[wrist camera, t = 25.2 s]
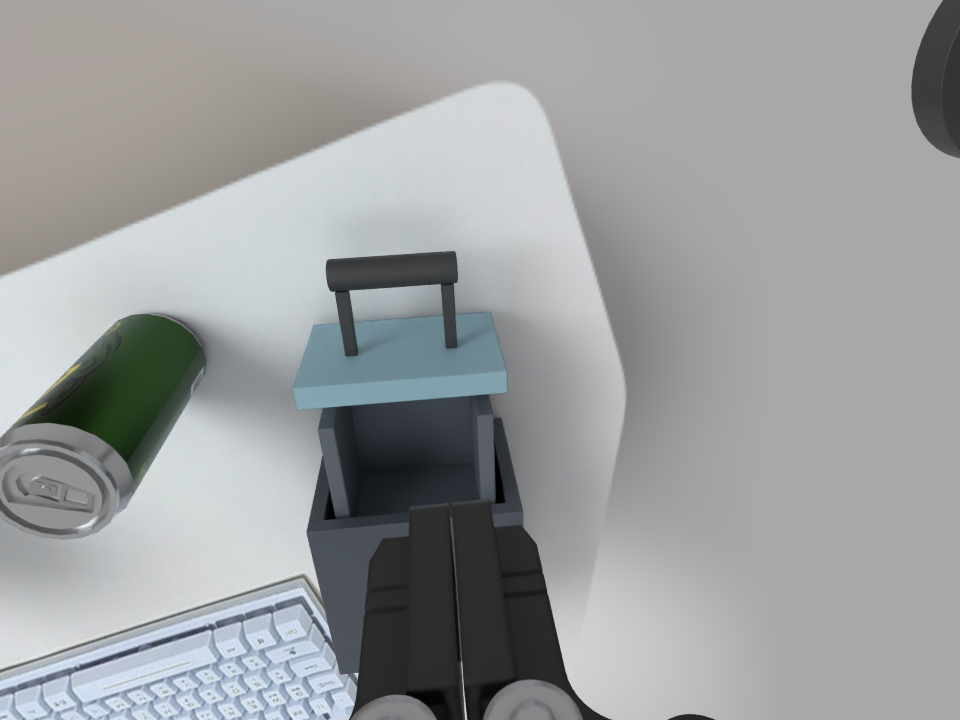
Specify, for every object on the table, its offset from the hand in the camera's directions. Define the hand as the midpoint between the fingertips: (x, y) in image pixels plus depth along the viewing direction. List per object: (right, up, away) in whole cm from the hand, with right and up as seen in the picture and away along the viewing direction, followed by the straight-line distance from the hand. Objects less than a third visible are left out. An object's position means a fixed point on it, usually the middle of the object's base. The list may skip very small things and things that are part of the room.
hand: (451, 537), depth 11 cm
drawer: (-4, +3, +24) cm, 24 cm away
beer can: (-18, +4, +23) cm, 29 cm away
